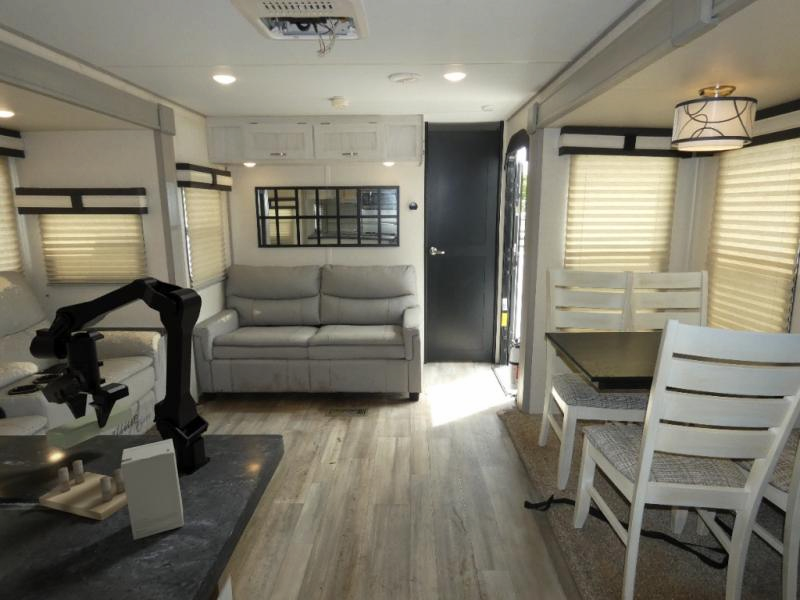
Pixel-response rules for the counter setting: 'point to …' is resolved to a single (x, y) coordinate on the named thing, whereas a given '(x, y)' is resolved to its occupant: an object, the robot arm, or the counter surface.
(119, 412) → the plank
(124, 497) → the peg stand
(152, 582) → the counter surface
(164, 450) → the skincare box
